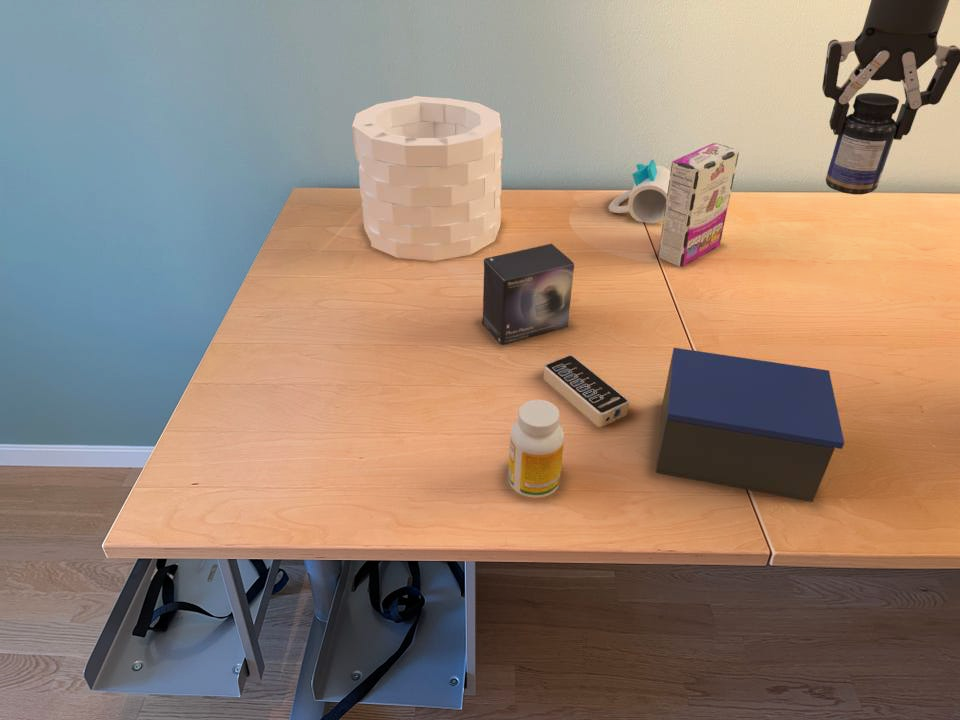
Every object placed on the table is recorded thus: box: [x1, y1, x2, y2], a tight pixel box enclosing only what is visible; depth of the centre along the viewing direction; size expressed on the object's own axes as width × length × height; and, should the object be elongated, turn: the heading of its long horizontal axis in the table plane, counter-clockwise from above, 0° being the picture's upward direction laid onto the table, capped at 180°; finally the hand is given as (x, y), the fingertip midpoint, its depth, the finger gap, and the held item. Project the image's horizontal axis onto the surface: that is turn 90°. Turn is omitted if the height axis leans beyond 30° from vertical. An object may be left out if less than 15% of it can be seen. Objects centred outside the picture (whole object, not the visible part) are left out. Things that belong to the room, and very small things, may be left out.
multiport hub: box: [543, 354, 630, 428], centre depth 83 cm, size 4×11×2 cm, turn 32°
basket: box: [351, 95, 504, 262], centre depth 115 cm, size 25×24×19 cm
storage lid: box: [667, 347, 845, 450], centre depth 72 cm, size 16×12×1 cm
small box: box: [481, 243, 575, 346], centre depth 93 cm, size 11×6×10 cm, turn 115°
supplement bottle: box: [508, 399, 565, 499], centre depth 70 cm, size 5×5×10 cm
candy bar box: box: [657, 142, 740, 268], centre depth 109 cm, size 11×5×16 cm, turn 132°
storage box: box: [655, 357, 836, 503], centre depth 74 cm, size 16×12×8 cm
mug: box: [608, 159, 671, 225], centre depth 125 cm, size 12×9×12 cm
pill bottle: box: [825, 92, 900, 196], centre depth 86 cm, size 6×6×11 cm
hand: (866, 134), depth 85 cm, fingers closed on pill bottle, 6 cm apart
